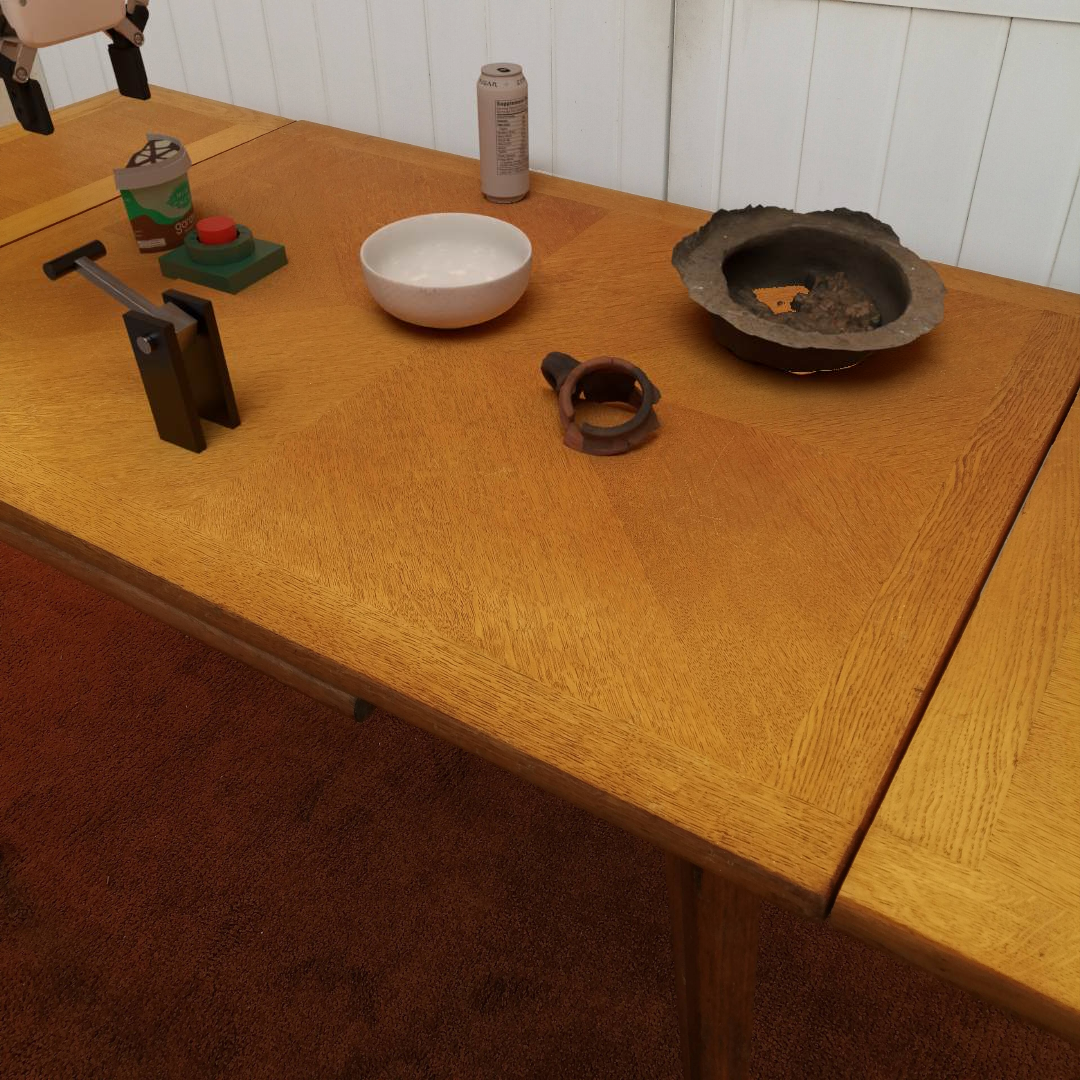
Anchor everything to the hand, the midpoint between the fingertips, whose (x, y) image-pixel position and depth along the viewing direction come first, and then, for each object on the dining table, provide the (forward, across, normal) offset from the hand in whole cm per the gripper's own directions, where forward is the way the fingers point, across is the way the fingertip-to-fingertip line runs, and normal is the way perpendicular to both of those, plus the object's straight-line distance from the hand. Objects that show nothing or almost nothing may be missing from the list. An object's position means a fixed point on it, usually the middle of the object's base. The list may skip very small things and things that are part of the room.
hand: (89, 114), depth 81 cm
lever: (+11, +9, +10) cm, 17 cm away
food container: (+23, -20, -19) cm, 36 cm away
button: (+19, -17, -8) cm, 26 cm away
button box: (+22, -17, -8) cm, 29 cm away
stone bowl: (+23, -35, +51) cm, 66 cm away
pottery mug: (+23, -10, +42) cm, 49 cm away
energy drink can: (+23, -50, +7) cm, 56 cm away
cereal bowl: (+23, -22, +19) cm, 37 cm away
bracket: (+22, +9, +15) cm, 28 cm away
